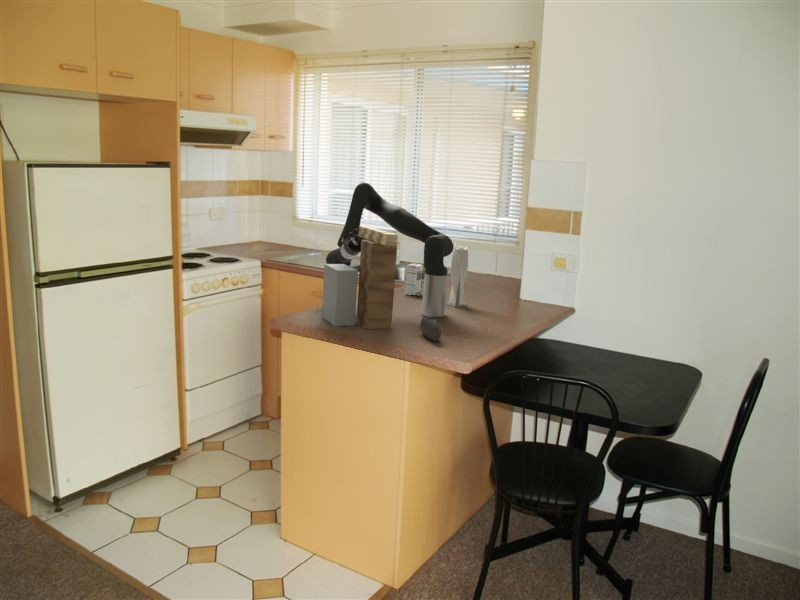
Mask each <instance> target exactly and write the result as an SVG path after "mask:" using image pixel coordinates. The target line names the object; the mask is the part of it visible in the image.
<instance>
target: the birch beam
mask: <svg viewBox="0 0 800 600" xmlns="http://www.w3.org/2000/svg"><path fill="white" fill-rule="evenodd" d="M358 236H359V237H362V238H365V239H368V240H371V241H374V242H377V243H380V244H383V245H386V246H397V247H398V237H399V236H398V234H397V233H392V232H390V231H387V230H383V229H380V228H377V227H373V226H369V225H360V226H359V232H358Z"/></svg>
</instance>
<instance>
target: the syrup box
mask: <svg viewBox="0 0 800 600" xmlns="http://www.w3.org/2000/svg"><path fill="white" fill-rule="evenodd" d="M423 268H424V264H419V263H410V264H406V271H405V273H406V275H405V291H404V293H405V294H404V295H406V294H408V295H407V296H411V295H414V296H413V297H416V296H415V295H417V296H421V295H422V290H423V289H422V287H423V285H422V284H423V271H424V269H423ZM420 294H421V295H420Z"/></svg>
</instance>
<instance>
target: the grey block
mask: <svg viewBox="0 0 800 600" xmlns="http://www.w3.org/2000/svg"><path fill="white" fill-rule="evenodd" d="M323 265H324V266H323V267H324V269H323V286H322V287H323V288H322V307H321V308H322V309H321V315H322V316H321V318H322V319H324V320H325V319H326V320H325V321H326V322H328V323H330V324H331V325H333V326H334V327H342V326H343V325H346V326H355V324H356V323H355V322H356V313H357V312H356V311H357V295H358V290H357V289H358V277H359V274H358V273H359V270H358V269H356V268H355V267H352V266H351V265H350V266H347V265H345V264H327V263H324V264H323ZM341 325H342V326H341ZM343 327H344V326H343Z"/></svg>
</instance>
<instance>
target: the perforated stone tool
mask: <svg viewBox="0 0 800 600" xmlns="http://www.w3.org/2000/svg"><path fill="white" fill-rule="evenodd" d="M419 327H420V330H421V332H422V334H423V335H424V337H426V338H427V339H429V340H430V341H433V342H438V341H439V340H441V335H442V332H441V331H442V330H441V327H440V325H439V323H438V322H437V319H435V317H431V316H425V315H423V316H422V318H421V321H420V326H419Z"/></svg>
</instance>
